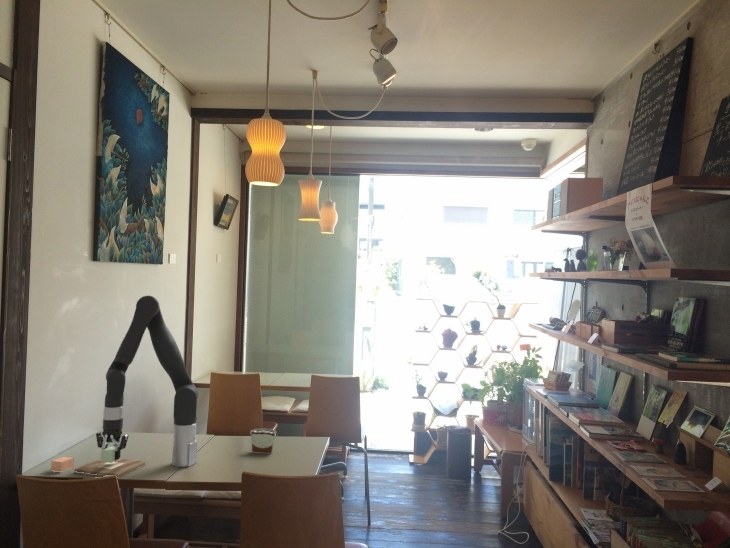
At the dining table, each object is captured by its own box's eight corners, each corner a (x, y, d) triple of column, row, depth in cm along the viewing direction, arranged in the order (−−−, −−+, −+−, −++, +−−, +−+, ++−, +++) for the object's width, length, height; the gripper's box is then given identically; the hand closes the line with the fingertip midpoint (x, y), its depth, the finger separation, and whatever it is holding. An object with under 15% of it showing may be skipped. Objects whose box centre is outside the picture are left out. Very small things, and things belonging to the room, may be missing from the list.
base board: (144, 465, 223) (145, 461, 223) (118, 478, 206) (118, 474, 207) (103, 460, 227) (103, 456, 227) (74, 473, 211) (74, 469, 211)
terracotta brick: (73, 469, 216) (73, 457, 216) (61, 473, 210) (61, 462, 210) (63, 467, 217) (63, 456, 217) (50, 472, 211) (51, 460, 212)
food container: (278, 450, 251) (279, 428, 251) (274, 454, 245) (275, 432, 245) (253, 448, 252) (253, 427, 253) (249, 452, 246) (249, 430, 246)
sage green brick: (120, 458, 220) (121, 447, 220) (111, 462, 214) (111, 451, 214) (110, 457, 221) (110, 446, 221) (100, 461, 215) (101, 450, 215)
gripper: (134, 416, 220) (132, 458, 219) (104, 413, 223) (102, 454, 222) (122, 420, 213) (120, 463, 212) (91, 417, 216) (89, 459, 215)
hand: (110, 458), depth 217 cm, fingers closed on sage green brick, 5 cm apart
